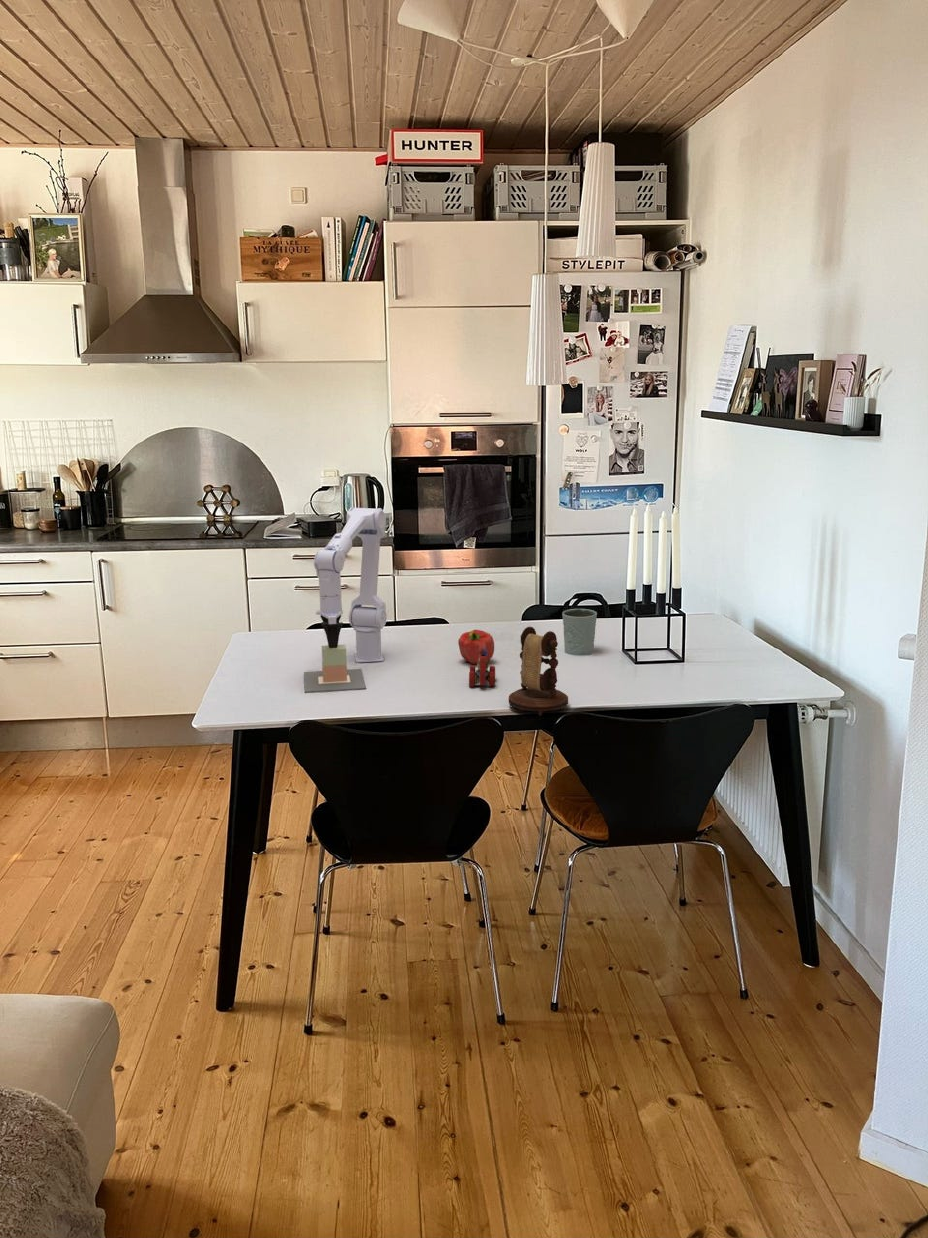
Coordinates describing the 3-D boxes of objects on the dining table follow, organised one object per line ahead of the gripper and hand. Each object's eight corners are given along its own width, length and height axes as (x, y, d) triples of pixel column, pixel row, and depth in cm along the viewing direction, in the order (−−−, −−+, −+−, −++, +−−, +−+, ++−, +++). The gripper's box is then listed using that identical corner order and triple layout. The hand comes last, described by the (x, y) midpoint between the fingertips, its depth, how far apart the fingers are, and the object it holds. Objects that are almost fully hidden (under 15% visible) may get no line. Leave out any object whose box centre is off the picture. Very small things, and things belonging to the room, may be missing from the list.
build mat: (303, 673, 277) (303, 671, 277) (361, 670, 280) (361, 668, 280) (304, 693, 260) (304, 691, 260) (366, 689, 262) (366, 687, 262)
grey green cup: (595, 647, 300) (596, 608, 297) (596, 656, 290) (597, 616, 288) (561, 647, 301) (562, 608, 298) (561, 656, 291) (562, 616, 289)
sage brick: (322, 661, 270) (321, 645, 269) (345, 660, 271) (345, 644, 270) (322, 666, 266) (321, 650, 265) (346, 664, 267) (346, 648, 266)
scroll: (496, 707, 247) (496, 629, 242) (535, 694, 257) (536, 618, 252) (541, 721, 237) (541, 640, 232) (580, 706, 247) (581, 628, 242)
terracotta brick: (322, 677, 271) (321, 661, 270) (346, 676, 272) (345, 660, 271) (323, 682, 267) (322, 666, 266) (347, 680, 268) (346, 664, 267)
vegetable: (487, 669, 279) (487, 634, 277) (452, 666, 283) (452, 632, 280) (498, 658, 289) (498, 625, 287) (465, 656, 293) (464, 623, 290)
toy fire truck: (468, 690, 261) (468, 652, 258) (469, 676, 273) (469, 640, 270) (495, 690, 260) (495, 652, 258) (495, 676, 272) (495, 640, 270)
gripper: (314, 589, 270) (316, 638, 274) (315, 601, 256) (318, 651, 260) (340, 588, 271) (342, 636, 275) (343, 599, 258) (345, 650, 261)
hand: (332, 644), depth 267 cm, fingers open, 7 cm apart
